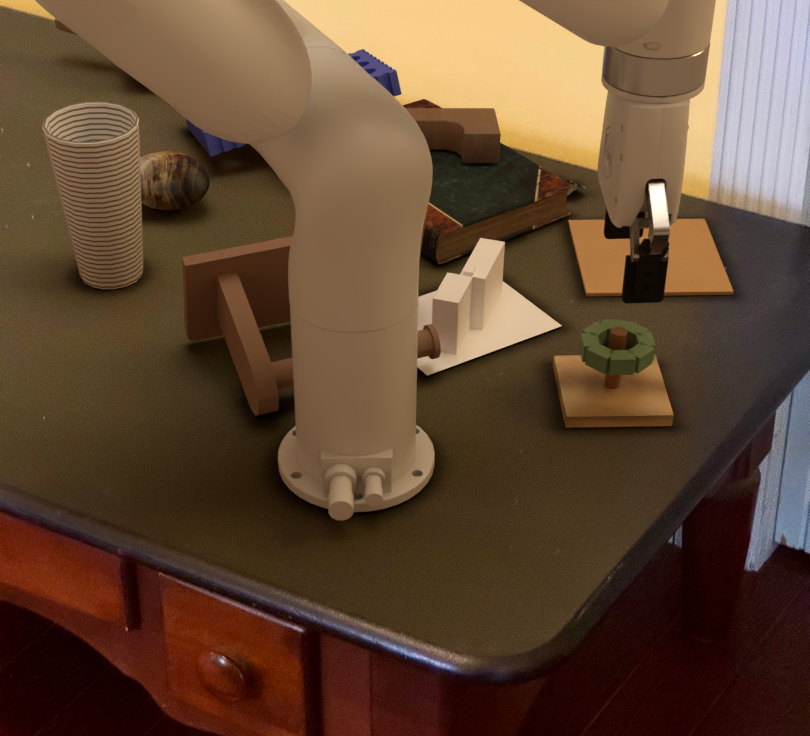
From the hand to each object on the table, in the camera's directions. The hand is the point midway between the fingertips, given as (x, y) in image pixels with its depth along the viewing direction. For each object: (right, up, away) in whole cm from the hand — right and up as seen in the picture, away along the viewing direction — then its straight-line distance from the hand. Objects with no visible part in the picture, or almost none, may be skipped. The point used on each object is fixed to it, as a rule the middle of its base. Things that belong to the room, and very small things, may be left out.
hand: (632, 268), depth 116 cm
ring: (-1, -6, +5) cm, 8 cm away
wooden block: (-9, +20, +33) cm, 39 cm away
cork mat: (+5, +6, +25) cm, 27 cm away
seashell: (-41, +16, +33) cm, 55 cm away
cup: (-46, +3, +22) cm, 52 cm away
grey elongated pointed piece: (-3, +15, +34) cm, 38 cm away
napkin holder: (-13, -2, +16) cm, 21 cm away
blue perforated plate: (-31, +27, +40) cm, 58 cm away
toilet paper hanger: (-26, -7, +13) cm, 29 cm away
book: (-16, +14, +35) cm, 41 cm away
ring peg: (-1, -10, +8) cm, 12 cm away
